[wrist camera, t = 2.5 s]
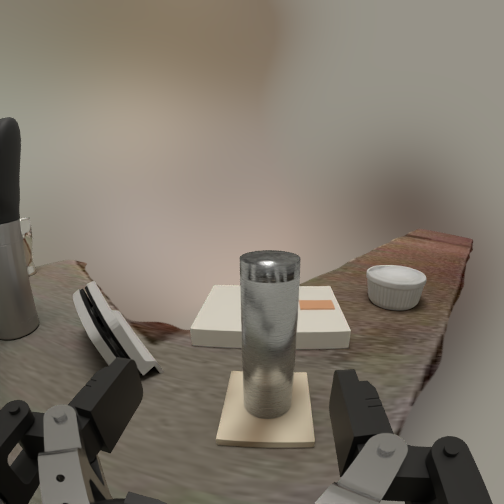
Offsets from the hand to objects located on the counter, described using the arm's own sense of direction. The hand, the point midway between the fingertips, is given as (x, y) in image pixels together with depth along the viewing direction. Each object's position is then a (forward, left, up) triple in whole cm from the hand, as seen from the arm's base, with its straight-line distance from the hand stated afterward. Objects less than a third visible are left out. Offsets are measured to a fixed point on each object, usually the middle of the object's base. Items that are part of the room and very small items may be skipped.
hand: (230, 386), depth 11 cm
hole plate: (+1, +31, -13) cm, 34 cm away
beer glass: (-64, +46, -13) cm, 80 cm away
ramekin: (+23, +38, -13) cm, 46 cm away
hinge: (-19, +20, -13) cm, 30 cm away
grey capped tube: (+1, +12, -12) cm, 17 cm away
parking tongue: (+1, +12, -13) cm, 18 cm away
